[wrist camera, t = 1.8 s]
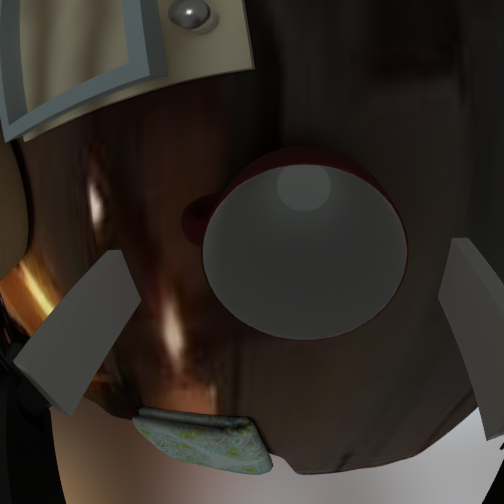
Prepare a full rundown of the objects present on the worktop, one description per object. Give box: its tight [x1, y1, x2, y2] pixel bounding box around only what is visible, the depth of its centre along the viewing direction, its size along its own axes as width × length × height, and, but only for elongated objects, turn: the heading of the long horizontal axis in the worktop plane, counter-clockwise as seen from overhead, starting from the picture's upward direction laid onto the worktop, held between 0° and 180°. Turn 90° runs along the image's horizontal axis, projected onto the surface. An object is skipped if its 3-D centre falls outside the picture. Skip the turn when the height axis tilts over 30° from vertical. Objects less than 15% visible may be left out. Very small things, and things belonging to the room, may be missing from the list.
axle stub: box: [168, 0, 219, 35], centre depth 12 cm, size 2×2×3 cm
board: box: [20, 0, 255, 142], centre depth 13 cm, size 21×18×1 cm
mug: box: [181, 145, 408, 341], centre depth 15 cm, size 10×8×10 cm
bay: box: [0, 0, 168, 143], centre depth 12 cm, size 15×16×2 cm
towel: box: [132, 407, 273, 475], centre depth 42 cm, size 18×21×5 cm
